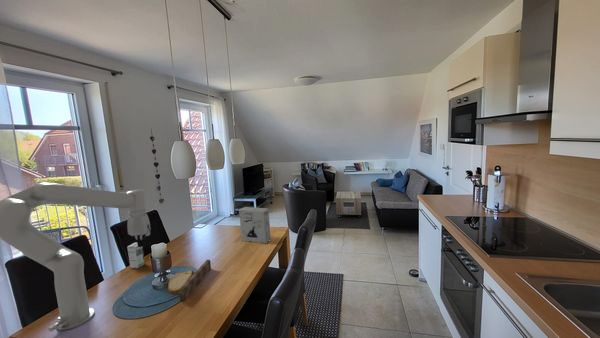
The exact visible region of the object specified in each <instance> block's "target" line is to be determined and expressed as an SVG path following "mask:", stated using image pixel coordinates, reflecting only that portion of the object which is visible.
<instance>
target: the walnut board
mask: <svg viewBox="0 0 600 338" xmlns="http://www.w3.org/2000/svg"><path fill="white" fill-rule="evenodd" d="M211 264H212V263H211V259H206V260H205V261H204V262H203V263H202V264H201V265H200V267H199V268H198V269H196V271H194V274H193V275H192V276H191V277H190V278H189V279H188V281H187V282H186V283H185V284H184V285H183V286H182V287H181V288H180V289H179V294H178V295H179V301H180V302H185V301H186V299H188V297H189V296H191V294H192V292H194V290H195V289H196V288H197V287H198V286H199V284H201V282H202V281H203V280H204V278H205V277H206V276H207V274H209V272H210V271H211V270H212V267H211V266H212V265H211Z"/></svg>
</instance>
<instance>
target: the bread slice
mask: <svg viewBox="0 0 600 338" xmlns="http://www.w3.org/2000/svg"><path fill="white" fill-rule="evenodd" d="M194 273H195V271H194V270H192V269H191V270H188V271H179V272H176V273H175V274H174V275H173V276H172V277H171V278H170V280H169V282H168V283H167V285H168V286H167V291H168V293H169V294H171V295H180V294H179V289H180V288H181V287H182V286H183V285H184V284H185V283H186V282H187V281H188V279H189V278H190V277H191V276H192V275H193V274H194Z"/></svg>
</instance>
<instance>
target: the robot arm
mask: <svg viewBox="0 0 600 338" xmlns="http://www.w3.org/2000/svg"><path fill="white" fill-rule="evenodd" d="M145 198H146V197H145V191H144V190H143V189H133V190H129V191H111V190H104V189H98V188H93V187H87V186H78V185H70V184H62V183H56V182H55V183H54V182H39V183H37V184H34V185H32V186H29V187H28V188H26V189H23V190H21V191H18V192H17V193H14V194H11V195H9V196H7V197H5V198H2V199H1V200H0V239H1V240H2V241H3V242H5V243H6V244H8V245H10V246H11V247H13V248H14V249H15V250H17V251H19V252H21V254H23V255H24V256H25V257H27V258H29V259H30V260H33V261H34V262H36V263H38V264H40V265H42V266H43V267H46V268H47V269H48V270H50V271H52V272H53V276H54V277H53V279H54V281H53V282H54V283H53V284H54V291H55V294H56V300H57V301H56V302H57V305H58V306H57V307H58V313H59V316H58V317H57V321H56V322H55V323H54V324H52V325H51V326H49V327H48V329H47V330H48V332H53V331H55V330H56V329H57V330H59V331H67V330H70V329H71V330H72V329H74V328H77V327H79V326H81V325H83V324H85V323H86V322H88V321H90V319H92V318H93V317H94V315H95V309H94V308H92V307H90V305H89V298H88V292H87V285H86V280H85V273H84V272H85V271H84V270H85V269H84V268H85V261H84V259H83V256H82V255H81V254H80V253H78V252H76V251H75V250H72V249H70V248H68V247H66V246H65V245H63V244H62V243H60V242H59V241H57V240H56V239H55V238H54V237H52V236H50V235H48V234H45V233H44V232H43V231H41V230H39V229H38V228H37V227H35V226H34V225H32V224H31V222H30V218H31V216H32V213H33V209H36V208H38V207H40V206H41V205H43V204H51V205H67V206H76V207H77V206H80V207H88V208H89V207H90V208H91V207H94V208H95V207H96V208H98V207H99V208H111V209H128V211H127V214H129V216H127V224H126V225H127V226H126V227H127V235H129V236H131V237H134V239H135V240H136V243H138V247H144V246H145V245H146V241H145V238H146V237H149V236H150V235H151V223H150V222H151V221H150V218H149V216H148V214H147V209H146V199H145Z"/></svg>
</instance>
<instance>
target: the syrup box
mask: <svg viewBox="0 0 600 338" xmlns="http://www.w3.org/2000/svg"><path fill="white" fill-rule="evenodd" d="M143 247H144V246H142V247H138V243H137V242H133V243H131V244H130V245H128V246H127V247H126V248H127V254H128V260H129V267H130V268H131V269H139V268H141V267H142V266H143V265H145V264H146V262H145V255H144V249H143Z"/></svg>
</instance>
